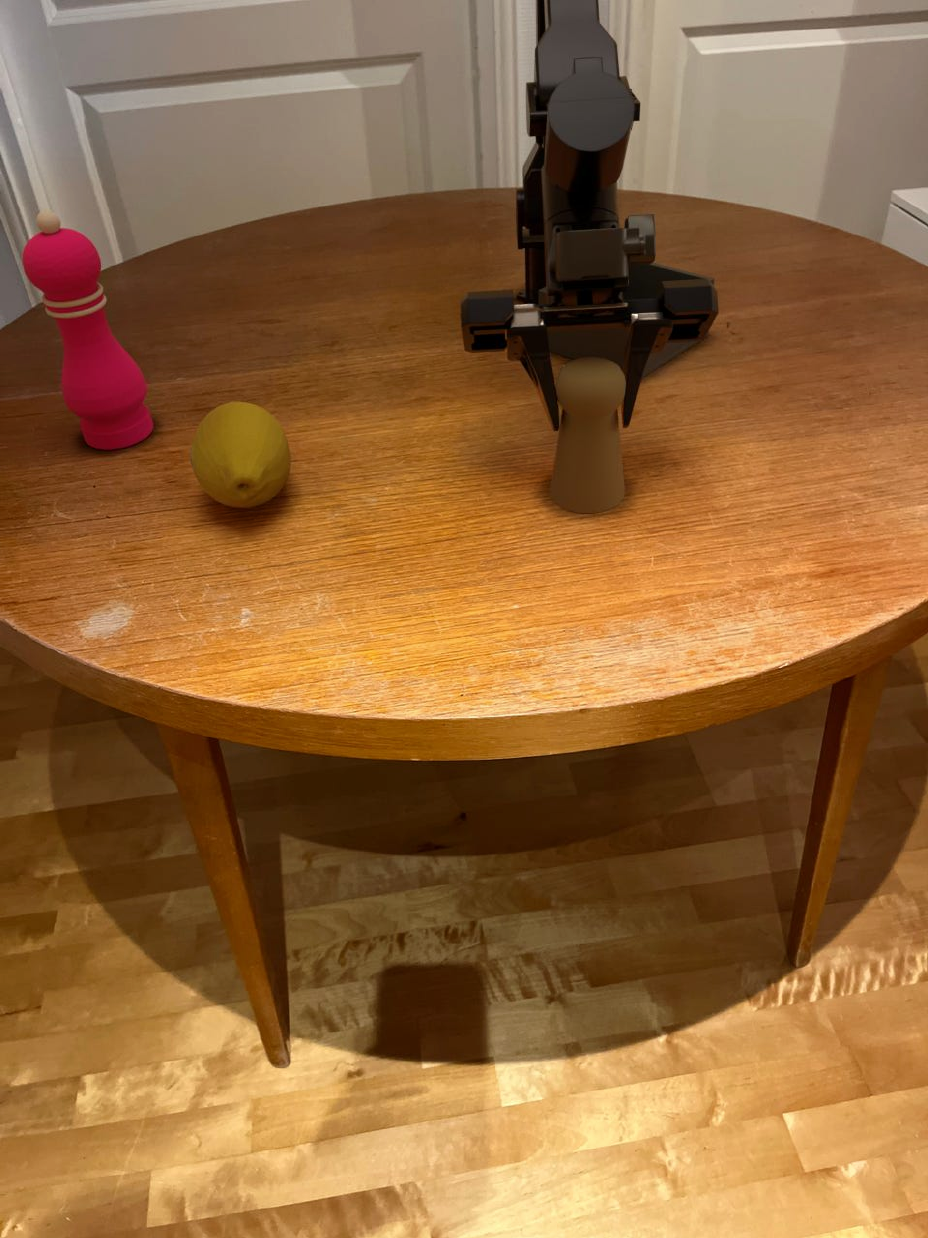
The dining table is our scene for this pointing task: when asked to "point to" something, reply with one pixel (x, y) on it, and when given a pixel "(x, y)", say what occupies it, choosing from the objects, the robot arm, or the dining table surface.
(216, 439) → the lemon
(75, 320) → the pepper mill
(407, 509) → the dining table surface
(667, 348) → the open box
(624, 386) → the cork
